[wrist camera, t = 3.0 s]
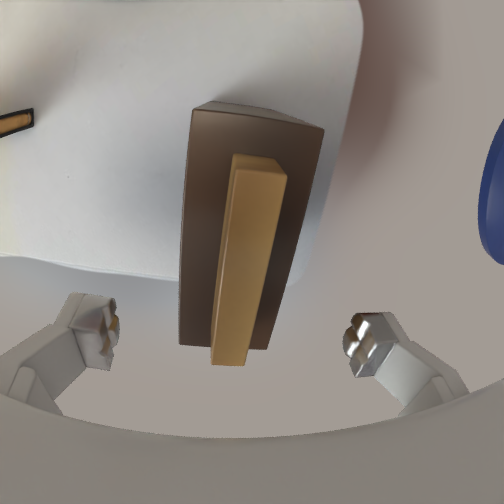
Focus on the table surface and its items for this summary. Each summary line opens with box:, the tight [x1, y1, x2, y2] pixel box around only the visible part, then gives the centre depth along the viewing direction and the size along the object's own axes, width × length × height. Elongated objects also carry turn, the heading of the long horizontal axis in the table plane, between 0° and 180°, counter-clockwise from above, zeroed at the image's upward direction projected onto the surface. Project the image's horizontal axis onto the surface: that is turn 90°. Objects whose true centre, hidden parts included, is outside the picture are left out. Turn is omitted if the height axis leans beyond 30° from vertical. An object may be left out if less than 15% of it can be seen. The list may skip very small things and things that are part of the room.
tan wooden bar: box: [211, 153, 287, 366], centre depth 12 cm, size 2×9×2 cm, turn 171°
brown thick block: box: [179, 101, 324, 350], centre depth 18 cm, size 5×12×13 cm, turn 171°
